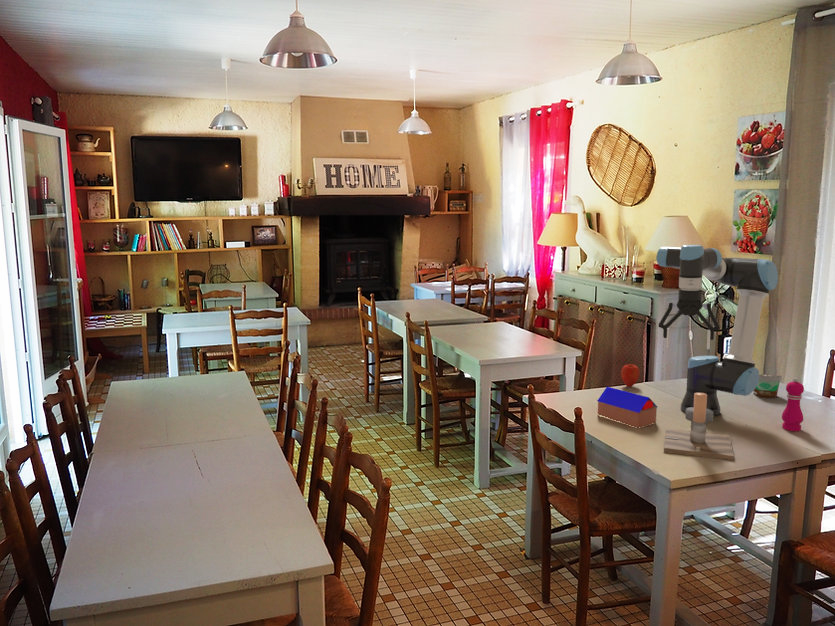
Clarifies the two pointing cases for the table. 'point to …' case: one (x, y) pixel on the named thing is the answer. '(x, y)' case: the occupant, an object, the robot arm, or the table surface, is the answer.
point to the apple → (630, 374)
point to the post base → (698, 443)
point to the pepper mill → (793, 407)
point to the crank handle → (699, 410)
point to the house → (627, 407)
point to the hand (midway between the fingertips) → (687, 347)
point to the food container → (767, 386)
